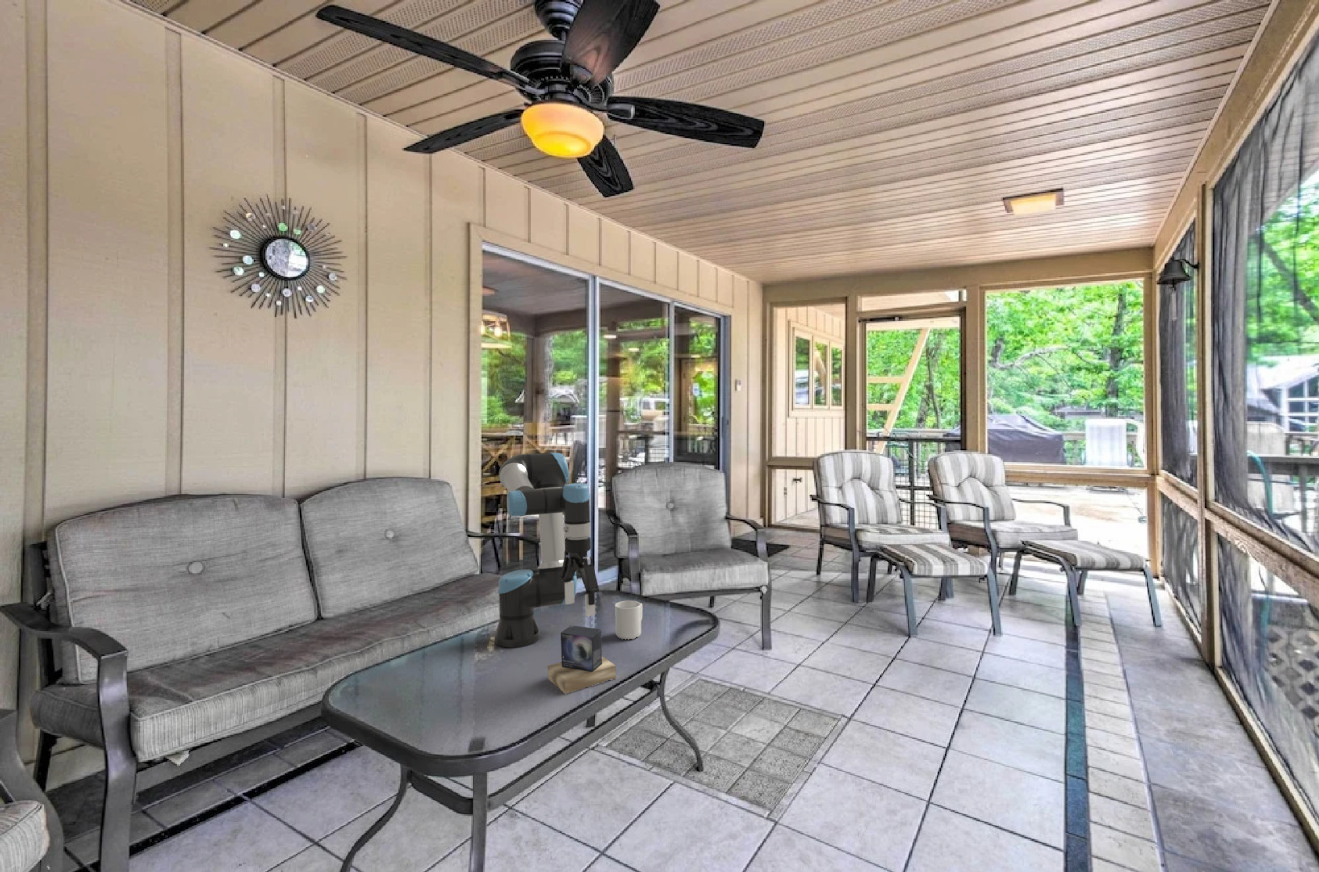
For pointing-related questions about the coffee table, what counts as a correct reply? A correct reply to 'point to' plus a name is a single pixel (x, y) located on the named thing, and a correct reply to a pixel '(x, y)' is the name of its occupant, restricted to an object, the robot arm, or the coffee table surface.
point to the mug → (628, 619)
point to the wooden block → (580, 676)
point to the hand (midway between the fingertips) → (579, 609)
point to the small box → (581, 648)
